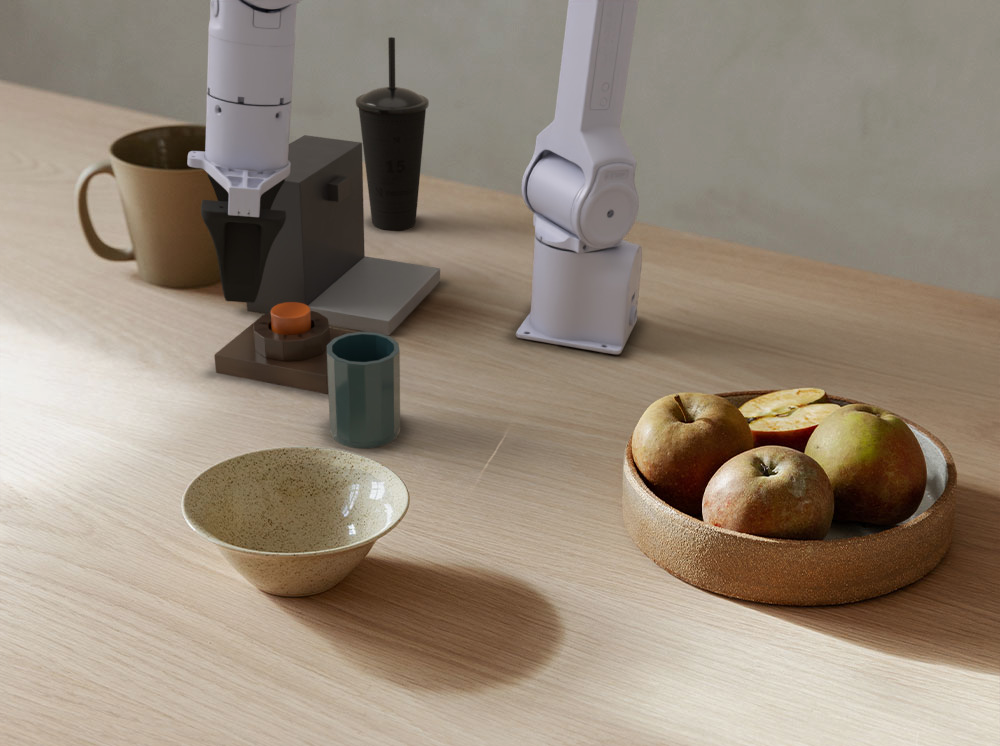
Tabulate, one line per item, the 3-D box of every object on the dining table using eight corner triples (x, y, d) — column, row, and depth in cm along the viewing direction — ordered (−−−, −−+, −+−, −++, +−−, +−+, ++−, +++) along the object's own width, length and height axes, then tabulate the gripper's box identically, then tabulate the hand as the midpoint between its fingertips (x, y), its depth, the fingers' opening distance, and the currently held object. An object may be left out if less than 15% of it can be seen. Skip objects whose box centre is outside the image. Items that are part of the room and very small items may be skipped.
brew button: (317, 324, 92) (317, 305, 91) (300, 340, 89) (299, 320, 88) (283, 318, 93) (282, 299, 92) (264, 333, 90) (263, 314, 89)
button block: (368, 352, 94) (367, 314, 93) (327, 394, 88) (325, 355, 86) (262, 333, 97) (260, 296, 95) (215, 372, 90) (212, 334, 89)
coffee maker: (440, 282, 108) (441, 152, 102) (389, 336, 97) (387, 195, 91) (310, 261, 112) (304, 134, 106) (246, 311, 101) (236, 173, 95)
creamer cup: (410, 420, 85) (410, 338, 81) (383, 454, 80) (382, 369, 77) (348, 407, 86) (345, 326, 83) (318, 441, 81) (314, 357, 78)
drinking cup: (349, 215, 124) (344, 32, 114) (413, 207, 127) (413, 28, 117) (372, 238, 118) (368, 47, 108) (438, 230, 121) (440, 43, 111)
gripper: (195, 70, 82) (191, 244, 87) (182, 114, 69) (178, 315, 74) (292, 80, 83) (282, 250, 89) (296, 125, 70) (284, 321, 76)
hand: (241, 280), depth 82 cm, fingers open, 7 cm apart
